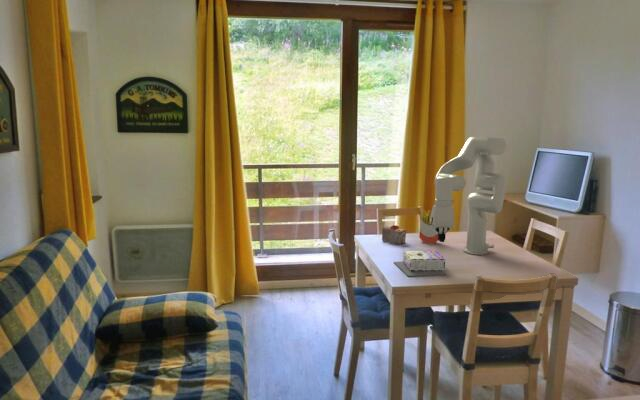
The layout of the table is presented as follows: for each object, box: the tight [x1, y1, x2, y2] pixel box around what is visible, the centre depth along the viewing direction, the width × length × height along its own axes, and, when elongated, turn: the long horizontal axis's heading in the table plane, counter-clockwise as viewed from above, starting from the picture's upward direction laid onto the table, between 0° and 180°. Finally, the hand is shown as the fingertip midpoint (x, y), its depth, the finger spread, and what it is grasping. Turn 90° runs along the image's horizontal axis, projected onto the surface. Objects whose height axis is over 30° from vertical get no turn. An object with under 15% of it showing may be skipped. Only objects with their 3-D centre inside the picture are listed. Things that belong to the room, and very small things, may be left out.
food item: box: [381, 224, 407, 245], centre depth 271 cm, size 14×8×10 cm, turn 47°
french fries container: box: [418, 209, 439, 245], centre depth 270 cm, size 5×11×18 cm, turn 55°
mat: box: [393, 261, 447, 278], centre depth 226 cm, size 18×20×1 cm
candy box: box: [402, 250, 446, 272], centre depth 227 cm, size 14×6×16 cm
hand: (441, 241), depth 225 cm, fingers closed
